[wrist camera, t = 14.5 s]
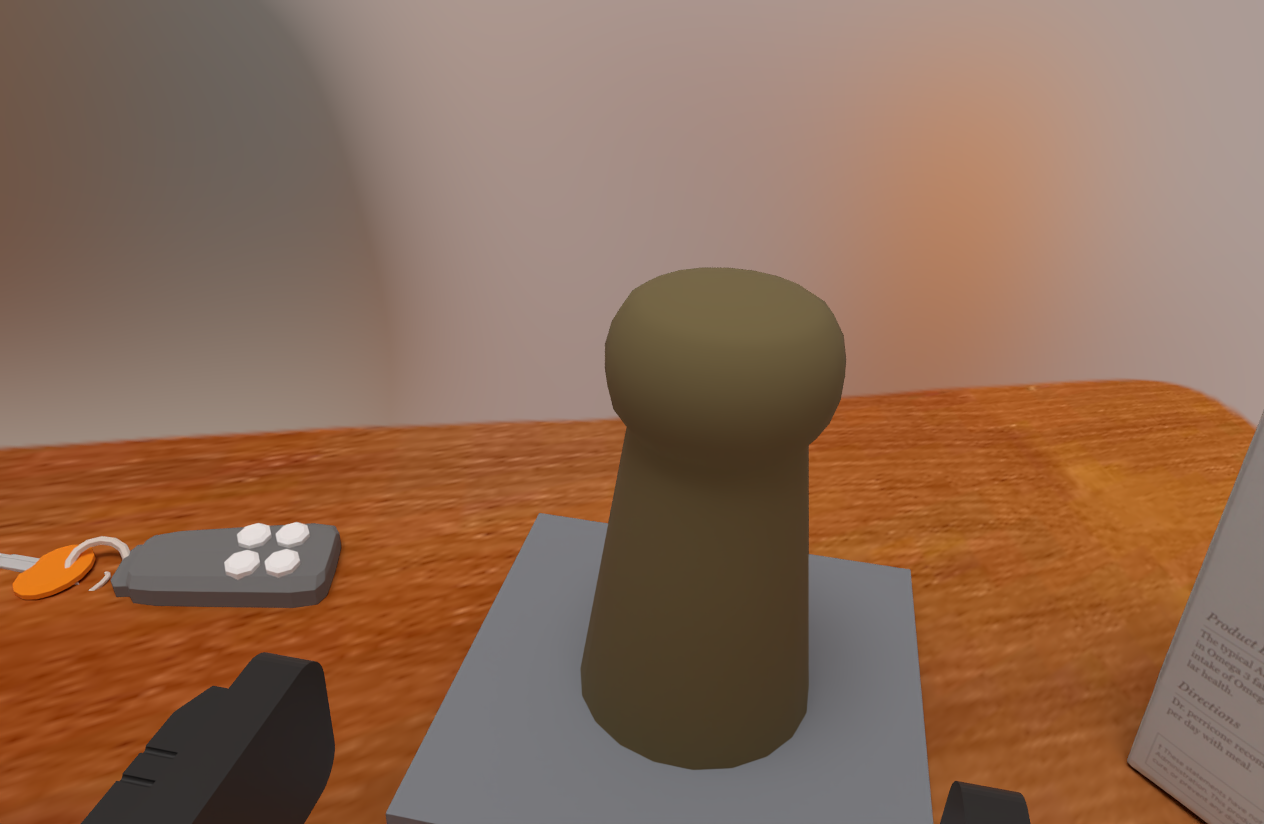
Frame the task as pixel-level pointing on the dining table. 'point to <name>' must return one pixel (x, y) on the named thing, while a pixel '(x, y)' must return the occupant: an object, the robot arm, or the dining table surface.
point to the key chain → (199, 567)
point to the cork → (710, 516)
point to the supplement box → (1216, 672)
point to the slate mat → (654, 792)
